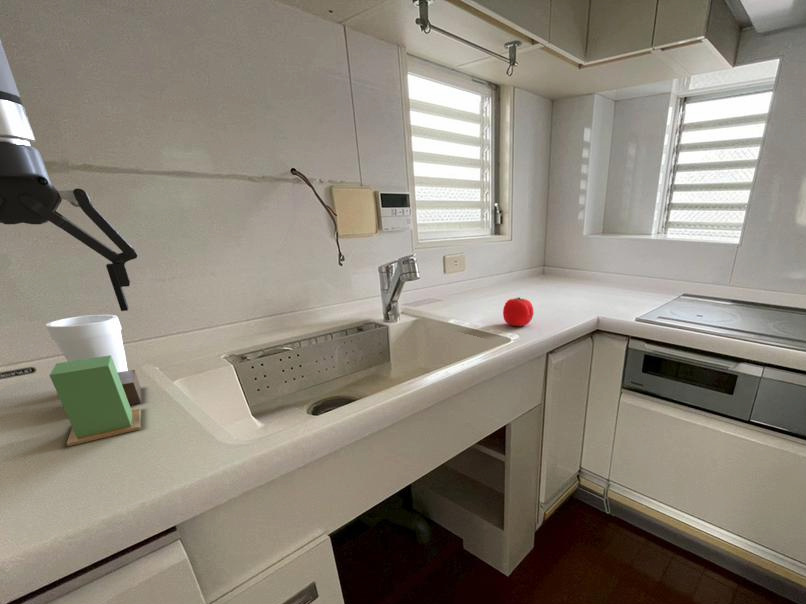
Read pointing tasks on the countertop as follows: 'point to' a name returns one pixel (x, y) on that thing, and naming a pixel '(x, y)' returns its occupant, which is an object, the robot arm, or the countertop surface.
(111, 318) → the foam cup
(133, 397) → the walnut base
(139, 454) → the countertop surface
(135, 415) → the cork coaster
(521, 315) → the tomato
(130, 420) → the green block
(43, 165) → the robot arm
